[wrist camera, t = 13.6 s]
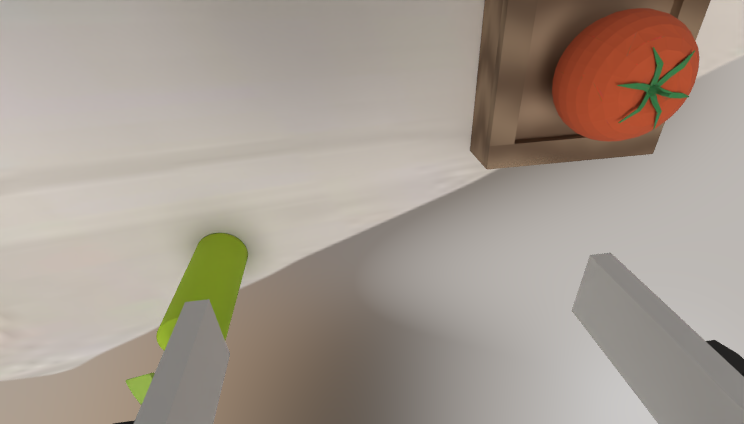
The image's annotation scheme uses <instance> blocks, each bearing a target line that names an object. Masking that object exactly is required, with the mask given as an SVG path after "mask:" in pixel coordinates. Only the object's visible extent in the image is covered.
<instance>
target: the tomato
mask: <svg viewBox="0 0 744 424" xmlns="http://www.w3.org/2000/svg"><path fill="white" fill-rule="evenodd" d="M698 67H699V51H698V46H697V44H696V42H695V39H694V37H693V35H692V33H691V31H690V30H689V29H688V28H687V26H686V25H685V24H684V23H682V22H681V21H680V20H679V19H677V18H675V17H674V16H672V15H671V14H669V13H665V12H662V11H658V10H654V9H650V8H636V9H627V10H623V11H618V12H615V13H613V14H610V15H608V16H606V17H603V18H601V19H599V20H597V21H595V22H594V23H592V24H591V25H589V26H588V27H586V28H585V29H584V30H583V31H582V32H581V33H579V34H578V35H577V36H576V37H575V38H574V39H573V41H572V42H571V43H570V44H569V45H568V47H567V48H566V49H565V51H564V52H563V54H562V56H561V57H560V59H559V62H558V64H557V66H556V69H555V73H554V77H553V85H552V95H553V102H554V105H555V108H556V110H557V112H558V115H559V116H560V118H561V119H562V121H563V122H564V123H565V124H566V125H567V126H568V127H570V128H571V129H572V130H573V131H574V132H576V133H577V134H580V135H582V136H584V137H587V138H589V139H593V140H598V141H622V140H627V139H631V138H635V137H639V136H641V135H644V134H646V133H648V132H650V131H652V130H653V129H655V128H657V127H658V126H660V125H661V124H662V123H664V122H665V121H666V120H668V118H670V117H671V116H672V115H673V114H674V113H675V112H676V111H677V110H678V109H679V108H680V107H681V105H682V104H683V103H684V102H685V100H686V98H687V97H689V96H688V95H689V94H690V92H691V90H692V87H693V85H694V83H695V79H696V76H697V72H698Z"/></svg>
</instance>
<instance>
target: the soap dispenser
mask: <svg viewBox="0 0 744 424" xmlns="http://www.w3.org/2000/svg"><path fill="white" fill-rule="evenodd" d="M247 257H248V252H247V249H246V247H245V245H244V244H243V243H242V242H241V241H240V240H239V239H238V238H236V237H234V236H232V235H229V234H224V233H215V234H211V235H208V236H206V237H204V238H203V239H202V240H201V241H200V242H199V244H198V246H197V248H196V250H195V252H194V254H193V256H192V258H191V261H190V263H189V265H188V267H187V269H186V271H185V273H184V276H183V278H182V280H181V282H180V284H179V286H178V288H177V291H176V293H175V295H174V297H173V299H172V301H171V303H170V305H169V308H168V310H167V312H166V314H165V316H164V318H163V320H162V323H161V325H160V327H159V329H158V331H157V342H158V344H159V346H160V347H161V348H162V349H163V350H164V351H165V348H166V346H167V344H168V341H169V339H170V336H171V334H172V332H173V329H174V327H175V325H176V322H177V320H178V318H179V315H180V313H181V310H182V308H183V306H184V303H185V302H190V301H199V300H207V299H209V300H210V303H211V305H212V308H213V311H214V313H215V316H216V319H217V321H218V324H219V326H220V329H221V332H222V334H223V337H224V340H226V337H227V333H228V329H229V325H230V321H231V318H232V314H233V310H234V306H235V303H236V299H237V295H238V291H239V288H240V284H241V280H242V276H243V273H244V269H245V265H246V261H247ZM154 374H155V373H150V374H146V375H142V376H139V377H135V378H131V379H128V380H126V383H127V385H128V387H129V389H130V390H131V392H132V393H133V395H134V396H135V398H136V399H137V400H138V402H139V403H140V404H141V405H142V403H143V400H144V398H145V396H146V393H147V391H148V388H149V386H150V384H151V381H152V379H153V377H154Z"/></svg>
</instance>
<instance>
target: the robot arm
mask: <svg viewBox="0 0 744 424" xmlns="http://www.w3.org/2000/svg"><path fill="white" fill-rule="evenodd" d="M572 312H573V313H574V314H575V315H576V317H577V318H578V319H579V321H580V322H581V323H582V325H583V326H584V327H585V328H586V330H587V331H588V332H589V334H590V335H591V336H592V338H593V339H594V340H595V342H596V343H597V344H598V346H599V347H600V348H601V349H602V350H603V352H604V353H605V355H606V356H607V357H608V359H609V360H610V361H611V362H612V364H613V365H614V366H615V367H616V369H617V370H618V372H619V373H620V374H621V376H622V377H623V378H624V379H625V381H626V382H627V383H628V385H629V386H630V387H631V389H632V390H633V391H634V393H635V394H636V395H637V396H638V398H639V399H640V400H641V402H642V403H643V404H644V406H645V407H646V408H647V409H648V411H649V412H650V413H651V415H652V416H653V417H654V419H655V420H656V421H657V422H658V424H744V359H743V358H742V357H741V356H740V355H738V354H737V353H736V352H734V351H732V350H730V349H729V348H727V347H726V346H724V345H722V344H721V343H719V342H717V341H716V340H711V341H705V340H704V339H702V338H701V337H700V336H699V335H698V334H697V333H696V332H695V331H694V330H693V329H692V328H691V327H690V326H689V325H687V324H686V323H685V322H684V321H683V320H682V319H681V318H680V317H679V316H678V315H677V314H676V313H675V312H674V311H672V310H671V309H670V308H669V307H668V306H667V305H666V304H665V303H664V302H663V301H662V300H661V299H660V298H658V297H657V296H656V295H655V294H654V293H653V292H652V291H651V290H650V289H649V288H648V287H647V286H646V285H644V284H643V283H642V282H641V281H640V280H639V279H638V278H637V277H636V276H635V275H634V274H633V273H632V272H631V271H629V270H628V269H627V268H626V267H625V266H624V265H623V264H622V263H621V262H620V261H619V260H618V259H617V258H616V257H615V256H613V255H612V254H611V253H604V254H596V255H590V257H589V260H588V263H587V266H586V269H585V272H584V275H583V278H582V281H581V284H580V287H579V290H578V293H577V296H576V299H575V302H574V305H573V309H572ZM229 356H230V353H229V350H228V347H227V345H226V342H225V340H224V337H223V334H222V332H221V329H220V326H219V324H218V321H217V319H216V316H215V313H214V311H213V308H212V305H211V303H210V300H209V299H207V300H199V301H190V302H185V303H184V306H183V308H182V310H181V313H180V315H179V318H178V320H177V322H176V325H175V327H174V329H173V332H172V334H171V336H170V339H169V341H168V344H167V346H166V348H165V351H164V353H163V355H162V358H161V360H160V362H159V365H158V367H157V370H156V372H155V374H154V377H153V379H152V381H151V384H150V386H149V388H148V391H147V393H146V396H145V398H144V400H143V403H142V405H141V408H140V410H139V412H138V414H137V417H136V419H135V421H129V422H121V423H115V424H213V422H214V418H215V414H216V409H217V405H218V401H219V397H220V393H221V389H222V385H223V381H224V377H225V372H226V368H227V364H228V360H229Z"/></svg>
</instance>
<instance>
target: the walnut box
mask: <svg viewBox="0 0 744 424" xmlns="http://www.w3.org/2000/svg"><path fill="white" fill-rule="evenodd" d="M710 1H711V0H485V5H484V15H483V25H482V36H481V46H480V56H479V66H478V76H477V86H476V96H475V106H474V116H473V126H472V136H471V146H470V151H471V152H472V153H473V155H474V156H475V157H476V158H477V159H478V160H479V161H480V162H481V164H482V165H483V166H484V167H485V168H486V169H496V168H507V167H518V166H528V165H538V164H550V163H560V162H571V161H581V160H592V159H603V158H614V157H625V156H635V155H646V154H653V152H654V150H655V147H656V144H657V142H658V139H659V136H660V133H661V131H662V128H663V125H664V123H665V122H664V123H662V124H661V125H660V126H658V127H657V128H655V129H653V130H652V131H650V132H648V133H646V134H644V135H641V136H639V137H635V138H631V139H627V140H622V141H598V140H593V139H589V138H587V137H584V136H582V135H580V134H577V133H576V132H574V131H573V130H572V129H571V128H570V127H568V126H567V125H566V124H565V123H564V122H563V121H562V119H561V118H560V116H559V115H558V112H557V110H556V108H555V105H554V102H553V95H552V85H553V77H554V73H555V69H556V66H557V64H558V62H559V59H560V57H561V56H562V54H563V52H564V51H565V49H566V48H567V47H568V45H569V44H570V43H571V42H572V41H573V39H574V38H575V37H576V36H577V35H578V34H579V33H581V32H582V31H583V30H584V29H585V28H586V27H588V26H589V25H591V24H592V23H594V22H595V21H597V20H599V19H601V18H603V17H606V16H608V15H610V14H613V13H615V12H618V11H623V10H627V9H636V8H650V9H654V10H658V11H662V12H665V13H669V14H671V15H672V16H674V17H675V18H677V19H679V20H680V21H681V22H682V23H684V24H685V25H686V26H687V28H688V29H689V30H690V31H691V33H692V35H693V37H694V39H695V40H696V38H697V35H698V32H699V30H700V27H701V24H702V22H703V19H704V17H705V14H706V11H707V9H708V6H709V3H710Z"/></svg>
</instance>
